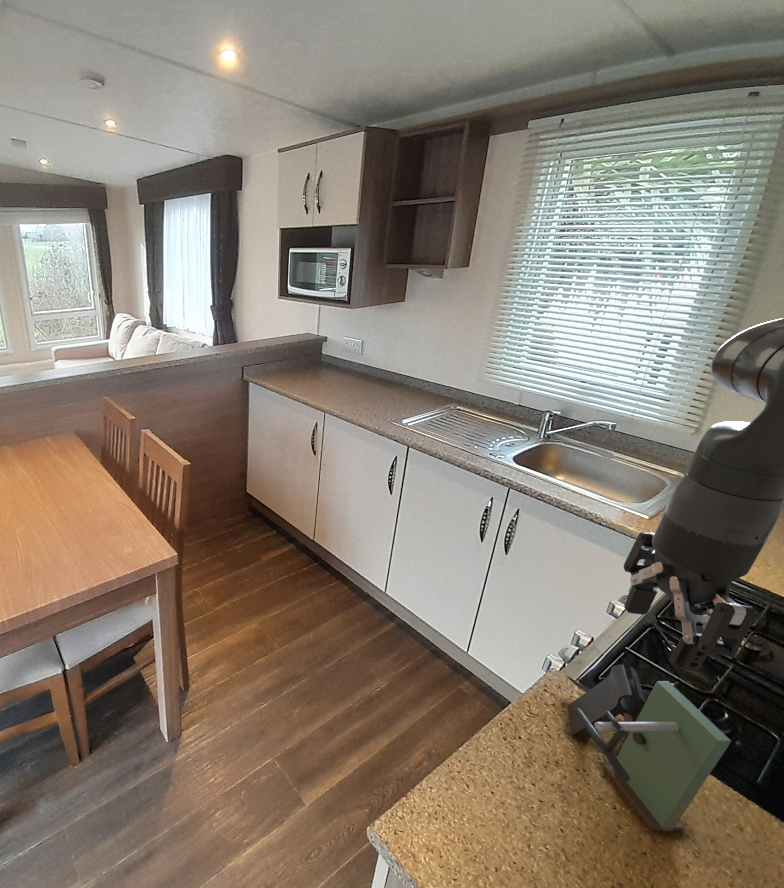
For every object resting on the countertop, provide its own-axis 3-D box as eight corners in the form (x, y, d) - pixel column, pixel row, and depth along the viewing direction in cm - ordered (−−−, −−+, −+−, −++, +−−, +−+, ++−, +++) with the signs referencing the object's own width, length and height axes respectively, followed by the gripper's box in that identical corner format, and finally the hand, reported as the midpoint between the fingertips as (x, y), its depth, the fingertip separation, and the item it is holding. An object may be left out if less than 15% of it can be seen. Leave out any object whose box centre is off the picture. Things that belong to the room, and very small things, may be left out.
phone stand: (569, 738, 73) (594, 682, 68) (566, 707, 78) (589, 653, 73) (646, 768, 69) (679, 711, 64) (638, 734, 73) (668, 679, 68)
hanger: (630, 782, 57) (649, 759, 55) (622, 782, 57) (641, 759, 55) (578, 710, 65) (593, 687, 63) (571, 710, 65) (586, 687, 63)
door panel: (680, 833, 61) (743, 741, 54) (584, 833, 62) (633, 741, 54) (629, 769, 69) (678, 680, 61) (543, 769, 69) (581, 681, 62)
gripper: (825, 568, 43) (743, 695, 49) (706, 491, 55) (654, 600, 62) (724, 558, 44) (658, 682, 51) (631, 485, 57) (588, 592, 64)
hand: (656, 637), depth 56 cm, fingers open, 8 cm apart
